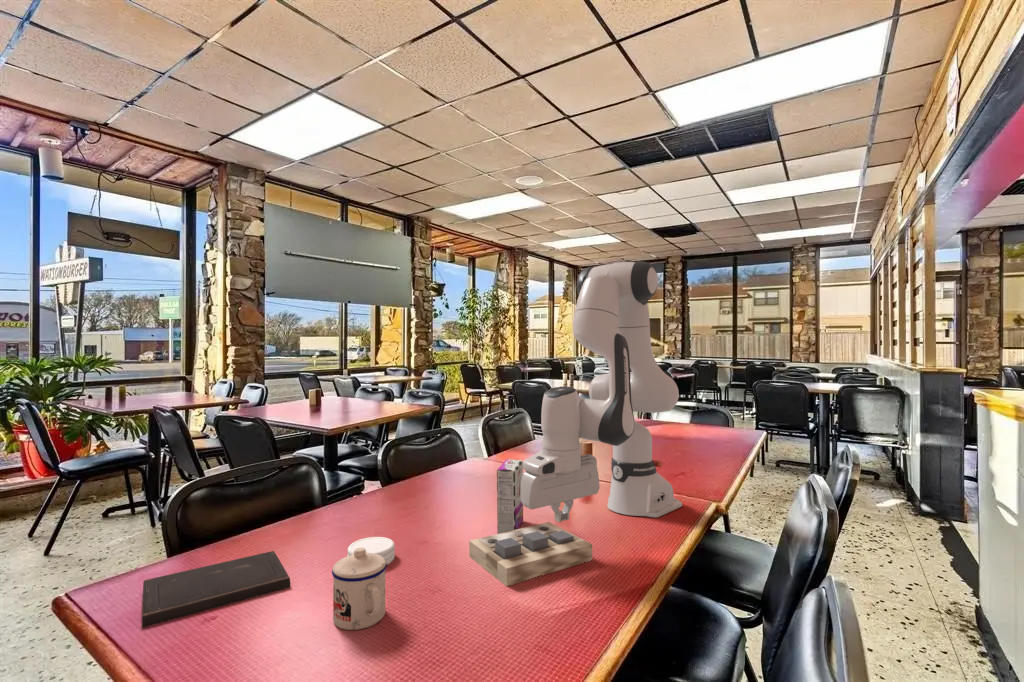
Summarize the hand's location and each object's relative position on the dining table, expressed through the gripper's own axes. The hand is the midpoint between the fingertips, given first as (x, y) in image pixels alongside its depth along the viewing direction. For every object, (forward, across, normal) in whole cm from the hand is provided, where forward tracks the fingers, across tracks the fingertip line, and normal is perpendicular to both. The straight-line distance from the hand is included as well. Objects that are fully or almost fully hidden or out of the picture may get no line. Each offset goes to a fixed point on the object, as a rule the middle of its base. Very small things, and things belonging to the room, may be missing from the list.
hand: (562, 520), depth 111 cm
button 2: (+6, +1, 0) cm, 6 cm away
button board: (+7, +8, -2) cm, 11 cm away
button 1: (+5, +15, +1) cm, 15 cm away
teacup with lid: (+6, +46, +4) cm, 46 cm away
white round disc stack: (+7, +38, -19) cm, 43 cm away
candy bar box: (+8, +2, -20) cm, 21 cm away
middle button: (+5, +8, 0) cm, 9 cm away
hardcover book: (+7, +67, -22) cm, 71 cm away
